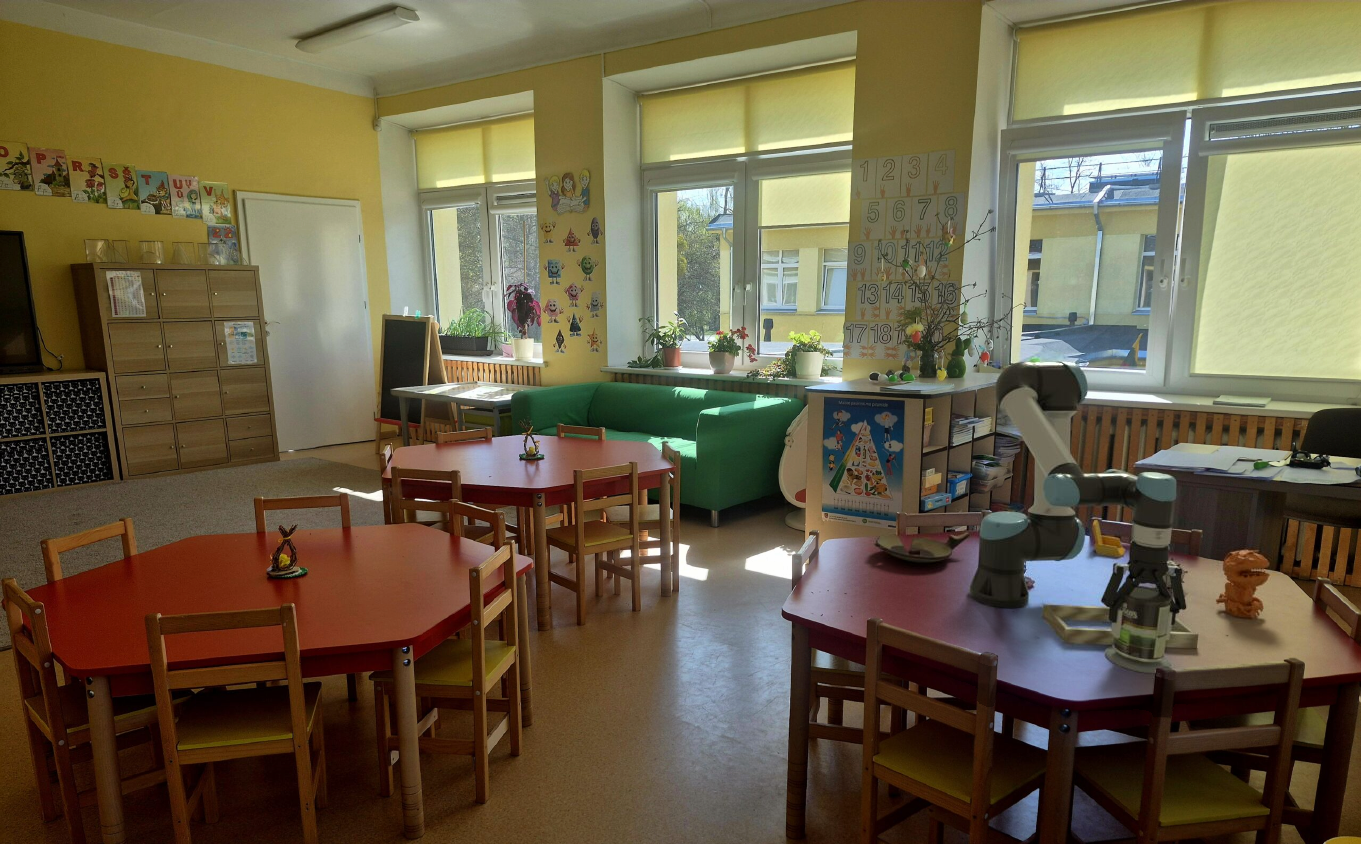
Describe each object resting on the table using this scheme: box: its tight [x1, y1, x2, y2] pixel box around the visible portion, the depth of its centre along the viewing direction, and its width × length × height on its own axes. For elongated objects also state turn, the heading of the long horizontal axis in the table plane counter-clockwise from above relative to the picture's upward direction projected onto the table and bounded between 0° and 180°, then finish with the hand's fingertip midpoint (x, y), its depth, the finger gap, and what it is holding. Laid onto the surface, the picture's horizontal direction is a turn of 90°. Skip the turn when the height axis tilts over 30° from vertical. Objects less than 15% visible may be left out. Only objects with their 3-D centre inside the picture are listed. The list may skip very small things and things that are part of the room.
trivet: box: [1104, 645, 1172, 675], centre depth 177 cm, size 13×13×1 cm
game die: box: [1162, 557, 1189, 588], centre depth 221 cm, size 9×8×10 cm
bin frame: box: [1041, 604, 1200, 649], centre depth 191 cm, size 30×15×4 cm, turn 85°
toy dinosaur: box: [1215, 549, 1271, 619], centre depth 202 cm, size 11×11×18 cm
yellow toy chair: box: [1092, 519, 1126, 559], centre depth 252 cm, size 10×10×9 cm
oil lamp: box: [874, 532, 971, 564], centre depth 243 cm, size 22×30×8 cm
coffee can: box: [1112, 585, 1173, 662], centre depth 176 cm, size 10×10×14 cm
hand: (1139, 636), depth 176 cm, fingers closed on coffee can, 10 cm apart
